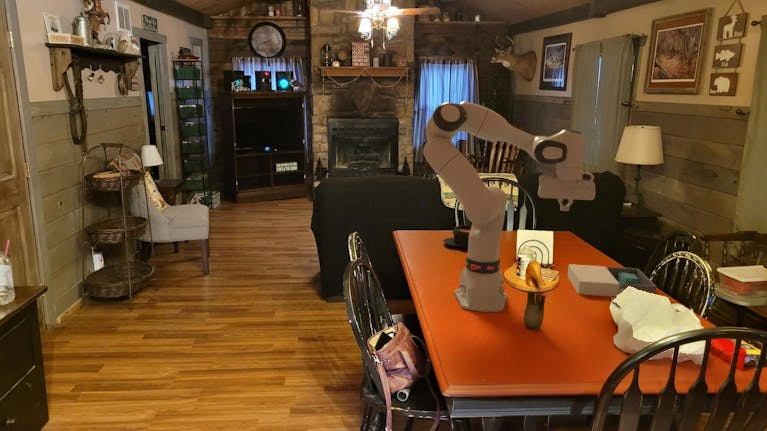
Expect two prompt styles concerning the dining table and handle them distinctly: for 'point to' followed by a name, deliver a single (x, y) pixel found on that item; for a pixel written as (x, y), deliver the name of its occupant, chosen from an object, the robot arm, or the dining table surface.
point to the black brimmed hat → (460, 236)
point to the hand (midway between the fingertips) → (564, 210)
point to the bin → (643, 281)
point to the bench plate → (593, 280)
